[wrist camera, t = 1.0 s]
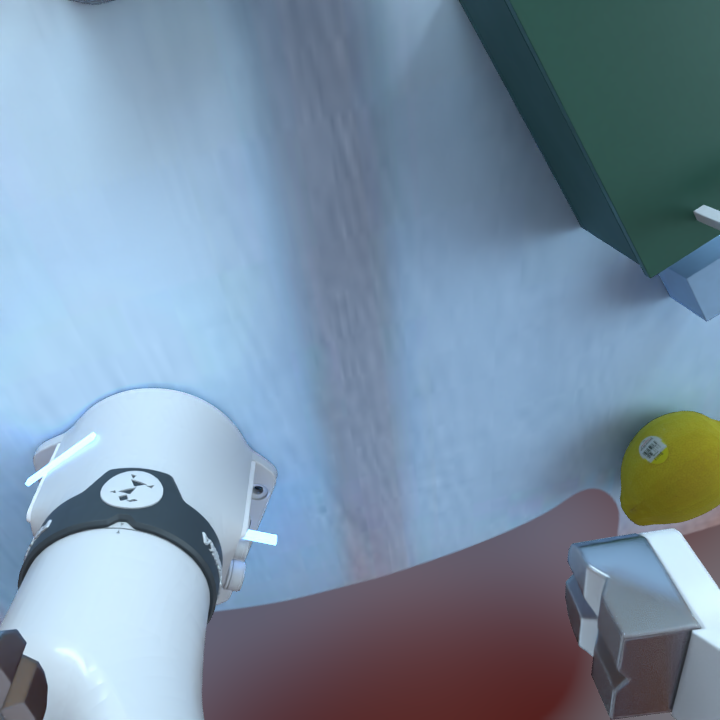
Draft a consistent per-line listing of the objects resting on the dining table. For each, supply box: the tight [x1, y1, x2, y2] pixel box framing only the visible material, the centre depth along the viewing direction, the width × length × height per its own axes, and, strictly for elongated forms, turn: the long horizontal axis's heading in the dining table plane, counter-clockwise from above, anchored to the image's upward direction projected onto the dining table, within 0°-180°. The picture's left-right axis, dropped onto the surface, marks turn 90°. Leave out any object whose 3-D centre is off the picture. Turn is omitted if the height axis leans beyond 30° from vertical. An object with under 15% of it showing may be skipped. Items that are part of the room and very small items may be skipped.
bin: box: [459, 0, 639, 264], centre depth 38 cm, size 19×13×9 cm
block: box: [659, 235, 720, 321], centre depth 47 cm, size 4×4×5 cm
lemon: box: [620, 411, 720, 526], centre depth 53 cm, size 11×8×8 cm
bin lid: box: [505, 0, 720, 278], centre depth 32 cm, size 19×13×6 cm, turn 35°
